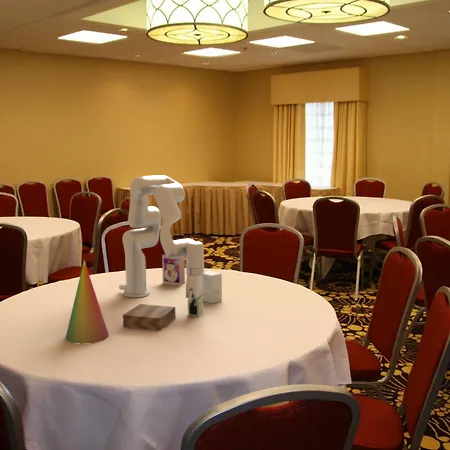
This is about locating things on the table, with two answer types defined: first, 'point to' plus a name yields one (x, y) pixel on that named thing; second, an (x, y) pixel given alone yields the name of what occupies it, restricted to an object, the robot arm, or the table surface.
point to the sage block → (199, 306)
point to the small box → (212, 287)
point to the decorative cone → (86, 314)
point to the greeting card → (173, 270)
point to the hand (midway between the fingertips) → (195, 312)
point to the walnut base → (149, 317)
